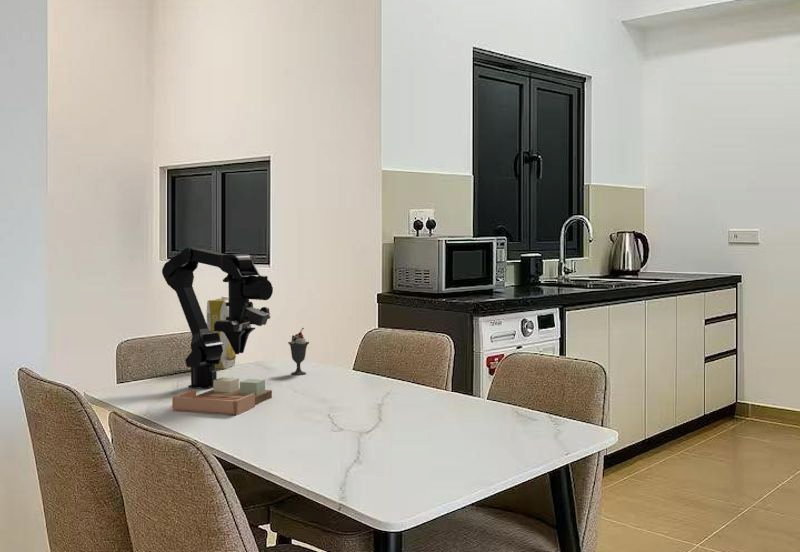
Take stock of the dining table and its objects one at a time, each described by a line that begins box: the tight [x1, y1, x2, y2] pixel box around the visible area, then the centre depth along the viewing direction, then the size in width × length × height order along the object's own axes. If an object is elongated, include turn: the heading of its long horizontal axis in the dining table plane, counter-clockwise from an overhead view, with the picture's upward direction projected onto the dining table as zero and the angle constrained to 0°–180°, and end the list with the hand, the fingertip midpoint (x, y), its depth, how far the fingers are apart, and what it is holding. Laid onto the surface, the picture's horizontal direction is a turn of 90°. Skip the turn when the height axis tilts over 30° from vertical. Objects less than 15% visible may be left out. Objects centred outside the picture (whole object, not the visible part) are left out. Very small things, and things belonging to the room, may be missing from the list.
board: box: [196, 387, 273, 406], centre depth 212 cm, size 16×12×2 cm
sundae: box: [287, 327, 310, 376], centre depth 252 cm, size 7×7×15 cm
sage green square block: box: [239, 378, 266, 394], centre depth 214 cm, size 5×5×3 cm
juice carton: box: [206, 295, 237, 370], centre depth 264 cm, size 9×8×24 cm
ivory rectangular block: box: [213, 376, 240, 392], centre depth 216 cm, size 5×5×3 cm
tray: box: [171, 388, 256, 416], centre depth 202 cm, size 18×10×4 cm, turn 73°
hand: (239, 353), depth 223 cm, fingers open, 2 cm apart
